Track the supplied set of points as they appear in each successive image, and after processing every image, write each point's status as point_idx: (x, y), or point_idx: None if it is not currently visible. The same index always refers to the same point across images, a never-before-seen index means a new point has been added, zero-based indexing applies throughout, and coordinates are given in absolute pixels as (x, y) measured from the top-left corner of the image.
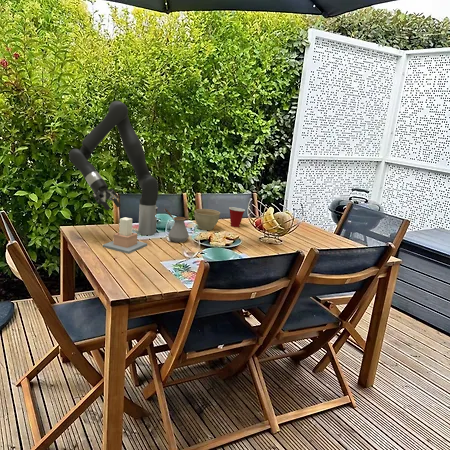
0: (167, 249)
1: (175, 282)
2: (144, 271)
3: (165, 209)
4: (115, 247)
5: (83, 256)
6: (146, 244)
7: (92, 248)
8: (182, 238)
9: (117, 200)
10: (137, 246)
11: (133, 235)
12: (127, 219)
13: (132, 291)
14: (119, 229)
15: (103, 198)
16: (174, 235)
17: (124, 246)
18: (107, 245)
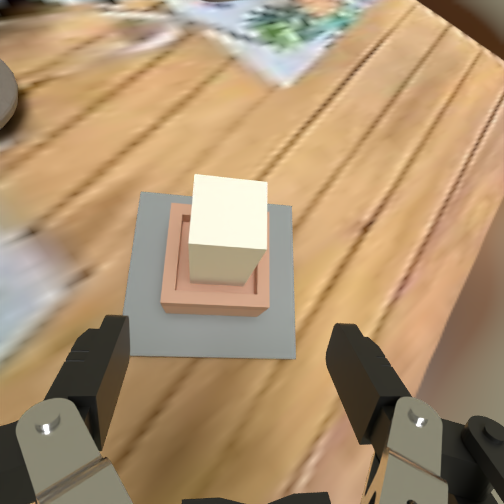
0: (141, 109)
1: (383, 15)
2: (383, 99)
3: None
4: (287, 281)
5: (434, 343)
6: (148, 194)
7: None
8: (3, 62)
9: (81, 375)
10: None
11: None
12: (240, 192)
13: (493, 77)
14: (251, 273)
15: (432, 470)
16: (3, 86)
17: None
18: (289, 330)
